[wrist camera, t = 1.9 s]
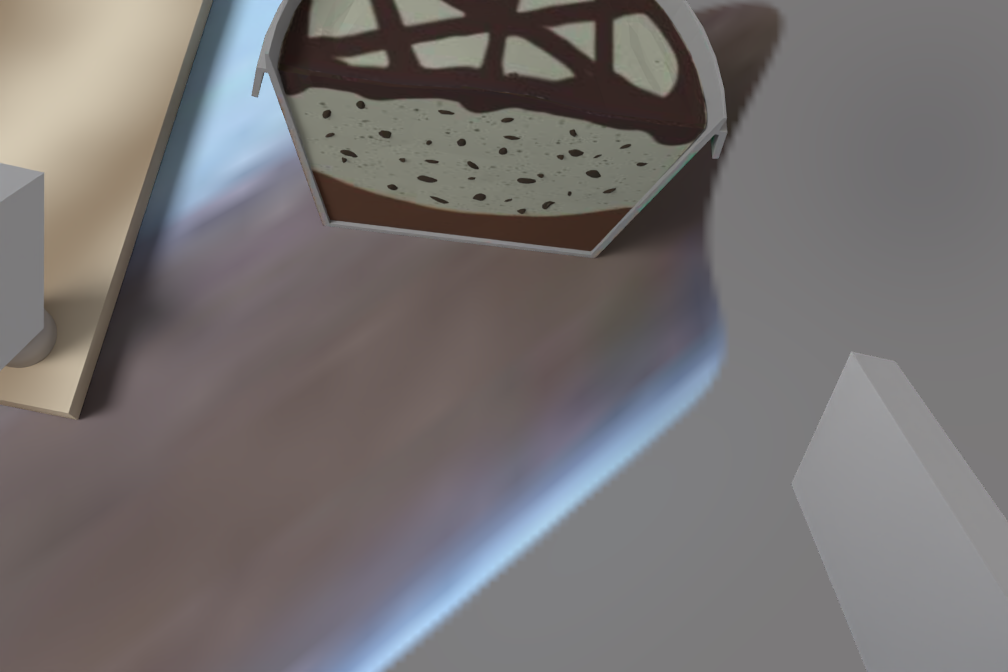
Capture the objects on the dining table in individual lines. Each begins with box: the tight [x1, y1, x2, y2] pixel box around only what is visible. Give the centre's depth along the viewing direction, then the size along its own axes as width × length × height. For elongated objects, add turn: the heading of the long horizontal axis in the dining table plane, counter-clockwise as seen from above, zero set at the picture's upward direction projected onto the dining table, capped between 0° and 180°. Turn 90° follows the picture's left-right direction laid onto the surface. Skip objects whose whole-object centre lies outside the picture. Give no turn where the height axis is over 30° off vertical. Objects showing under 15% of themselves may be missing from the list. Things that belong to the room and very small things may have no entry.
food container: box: [252, 0, 727, 258], centre depth 28 cm, size 12×6×10 cm, turn 86°
